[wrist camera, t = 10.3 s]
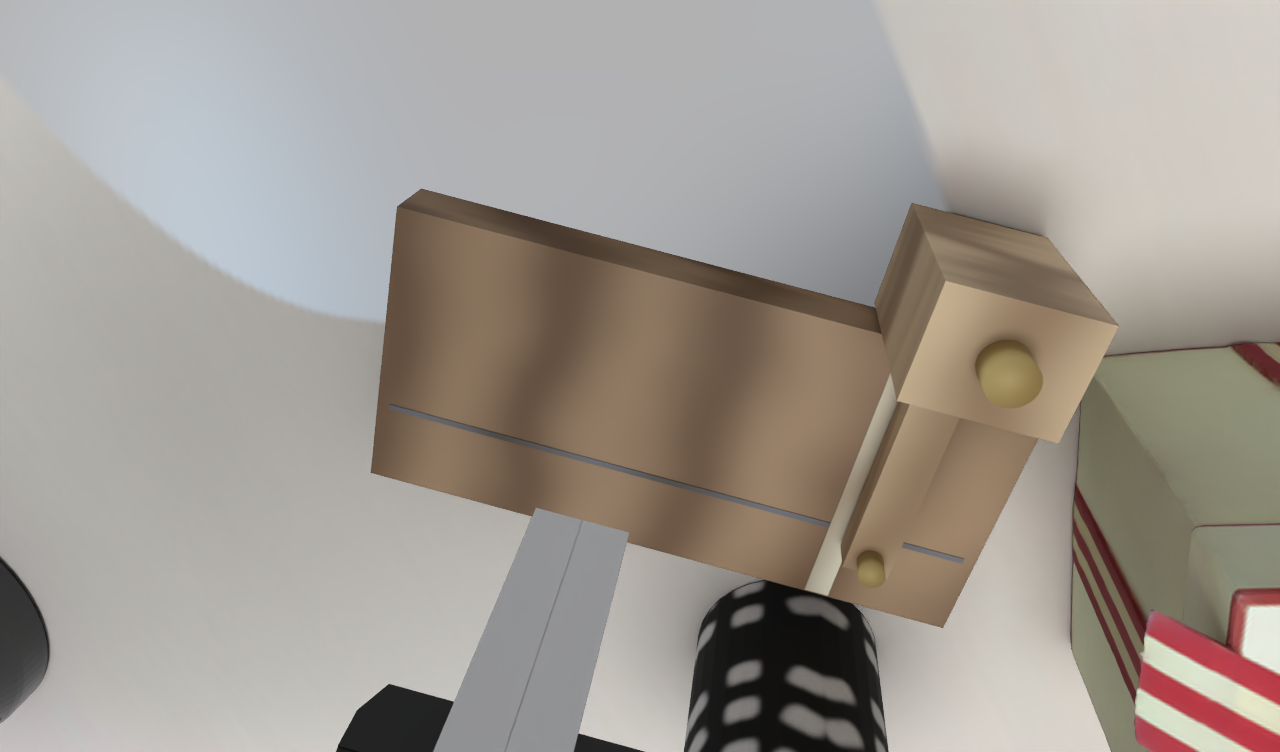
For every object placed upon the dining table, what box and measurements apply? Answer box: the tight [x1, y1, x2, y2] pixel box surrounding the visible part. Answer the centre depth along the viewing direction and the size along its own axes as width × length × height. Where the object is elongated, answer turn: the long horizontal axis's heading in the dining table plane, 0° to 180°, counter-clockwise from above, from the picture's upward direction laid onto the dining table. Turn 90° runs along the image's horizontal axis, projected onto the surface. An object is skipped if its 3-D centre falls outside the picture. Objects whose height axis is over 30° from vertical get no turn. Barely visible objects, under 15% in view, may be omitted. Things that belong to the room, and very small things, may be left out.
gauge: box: [840, 203, 1119, 588], centre depth 32 cm, size 5×13×9 cm, turn 167°
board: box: [371, 189, 1038, 628], centre depth 37 cm, size 25×12×3 cm, turn 77°
